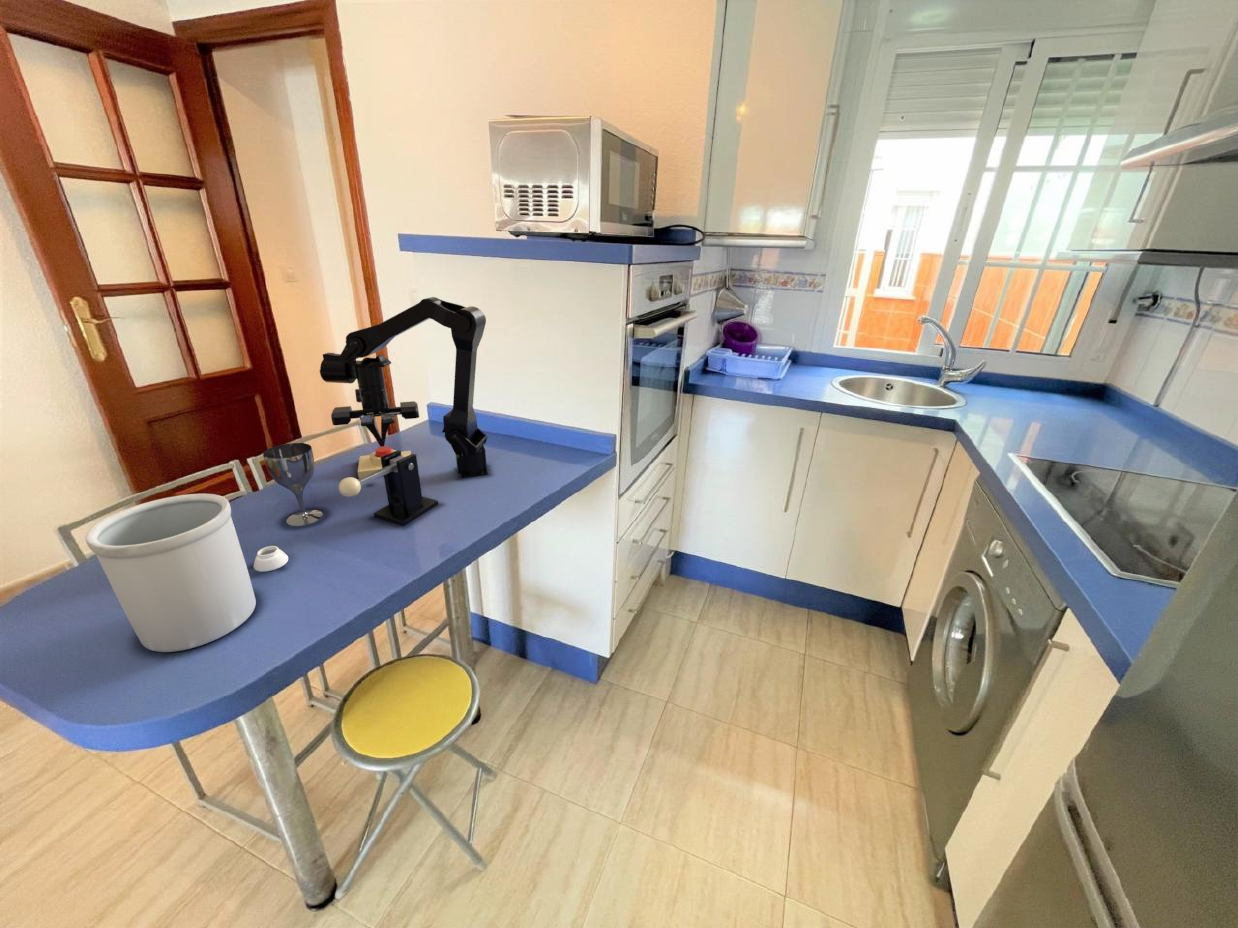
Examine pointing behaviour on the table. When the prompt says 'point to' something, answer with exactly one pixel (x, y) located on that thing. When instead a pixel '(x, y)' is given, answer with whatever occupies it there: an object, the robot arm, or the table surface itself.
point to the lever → (365, 479)
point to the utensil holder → (176, 570)
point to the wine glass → (293, 475)
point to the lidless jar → (270, 559)
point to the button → (383, 451)
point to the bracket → (403, 492)
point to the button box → (373, 463)
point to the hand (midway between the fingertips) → (382, 445)
